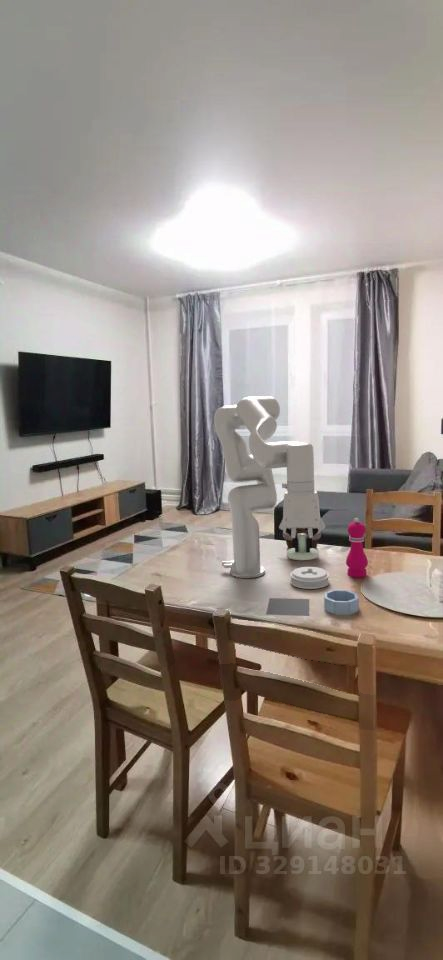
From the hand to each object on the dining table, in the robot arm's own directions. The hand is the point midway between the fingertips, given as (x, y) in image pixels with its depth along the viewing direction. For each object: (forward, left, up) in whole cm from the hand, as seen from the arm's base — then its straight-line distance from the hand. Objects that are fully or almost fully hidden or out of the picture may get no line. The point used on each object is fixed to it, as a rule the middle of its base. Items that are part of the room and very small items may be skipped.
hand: (302, 550), depth 139 cm
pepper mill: (+17, +30, -18) cm, 39 cm away
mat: (-5, 0, -17) cm, 18 cm away
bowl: (+10, 0, -17) cm, 20 cm away
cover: (0, 0, -2) cm, 2 cm away
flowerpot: (-2, +50, -18) cm, 53 cm away
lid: (+1, +20, -18) cm, 27 cm away
